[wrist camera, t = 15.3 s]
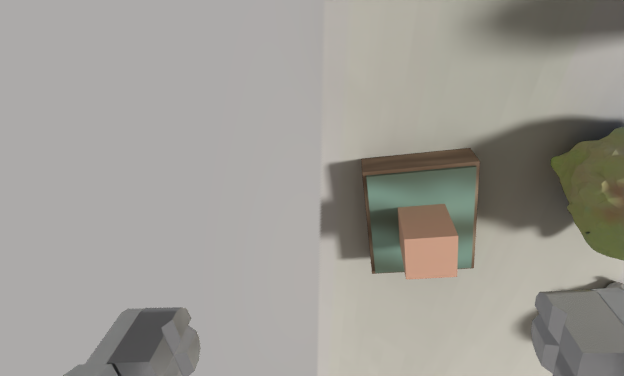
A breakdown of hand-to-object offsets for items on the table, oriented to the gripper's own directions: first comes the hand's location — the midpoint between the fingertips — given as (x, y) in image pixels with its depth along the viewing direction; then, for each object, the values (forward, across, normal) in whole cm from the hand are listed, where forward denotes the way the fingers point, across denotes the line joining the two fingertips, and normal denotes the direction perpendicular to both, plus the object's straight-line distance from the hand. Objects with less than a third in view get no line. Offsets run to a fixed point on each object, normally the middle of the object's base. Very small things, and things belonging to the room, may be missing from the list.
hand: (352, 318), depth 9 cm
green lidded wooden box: (+34, -6, +18) cm, 39 cm away
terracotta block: (+30, -6, +18) cm, 36 cm away
